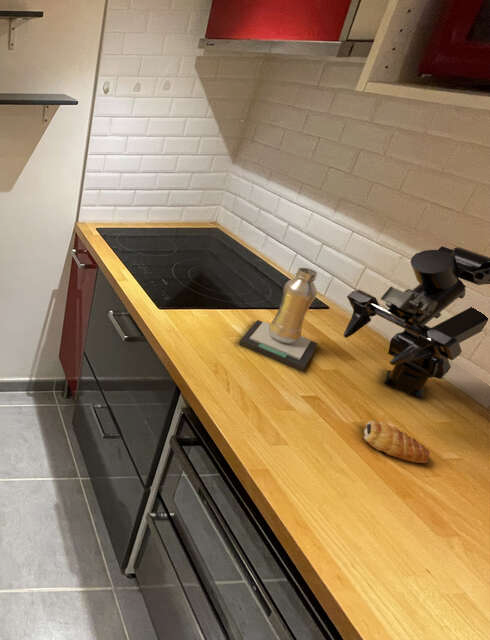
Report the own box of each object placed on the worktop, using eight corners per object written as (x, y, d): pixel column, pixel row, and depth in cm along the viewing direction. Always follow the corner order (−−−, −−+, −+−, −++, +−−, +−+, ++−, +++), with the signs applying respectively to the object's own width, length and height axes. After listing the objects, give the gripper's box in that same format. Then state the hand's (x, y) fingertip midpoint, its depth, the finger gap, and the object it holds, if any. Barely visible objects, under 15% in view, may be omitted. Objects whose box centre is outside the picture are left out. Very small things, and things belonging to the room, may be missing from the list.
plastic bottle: (297, 350, 111) (326, 280, 103) (266, 340, 115) (291, 272, 106) (297, 337, 116) (324, 269, 108) (266, 328, 120) (290, 262, 111)
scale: (256, 323, 125) (258, 317, 124) (316, 347, 116) (319, 341, 115) (238, 344, 116) (240, 338, 115) (302, 371, 107) (305, 365, 106)
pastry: (423, 449, 87) (432, 435, 85) (428, 473, 82) (438, 459, 81) (361, 425, 92) (369, 411, 91) (363, 446, 87) (370, 432, 86)
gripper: (370, 256, 96) (312, 306, 98) (481, 302, 80) (409, 360, 82) (382, 284, 101) (327, 330, 103) (489, 332, 85) (421, 386, 87)
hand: (366, 349), depth 93 cm, fingers open, 9 cm apart
